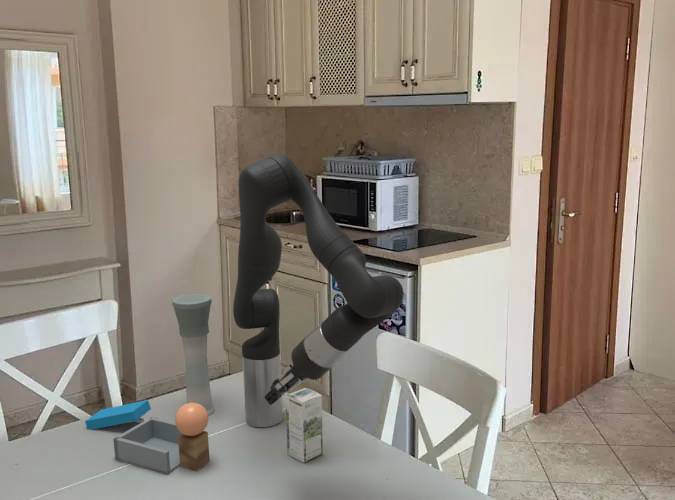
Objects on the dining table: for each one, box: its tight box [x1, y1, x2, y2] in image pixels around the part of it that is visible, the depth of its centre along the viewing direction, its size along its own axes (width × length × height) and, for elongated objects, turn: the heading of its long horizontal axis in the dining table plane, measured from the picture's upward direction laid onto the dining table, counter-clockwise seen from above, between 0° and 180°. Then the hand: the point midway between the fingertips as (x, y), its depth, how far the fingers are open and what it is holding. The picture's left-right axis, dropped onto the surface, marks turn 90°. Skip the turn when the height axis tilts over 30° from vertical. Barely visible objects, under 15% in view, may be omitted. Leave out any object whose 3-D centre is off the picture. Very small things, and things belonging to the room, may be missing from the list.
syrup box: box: [285, 387, 324, 464], centre depth 149 cm, size 6×6×14 cm
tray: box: [112, 416, 182, 475], centre depth 152 cm, size 15×12×5 cm
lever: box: [84, 399, 160, 431], centre depth 166 cm, size 7×7×18 cm
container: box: [171, 293, 215, 417], centre depth 171 cm, size 10×10×30 cm
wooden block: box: [178, 430, 211, 472], centre depth 147 cm, size 4×4×7 cm
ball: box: [174, 402, 209, 436], centre depth 146 cm, size 7×7×7 cm
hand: (269, 400), depth 135 cm, fingers closed
